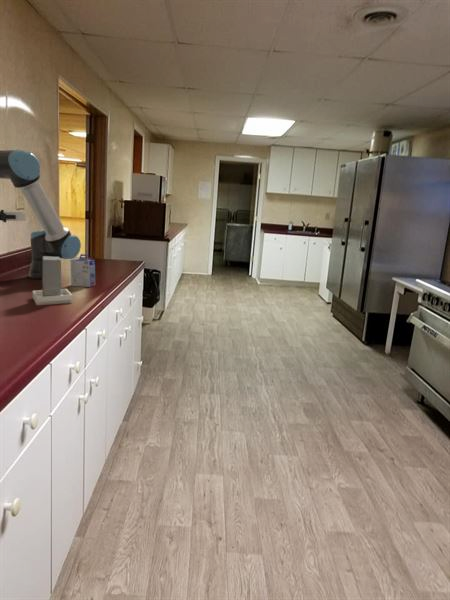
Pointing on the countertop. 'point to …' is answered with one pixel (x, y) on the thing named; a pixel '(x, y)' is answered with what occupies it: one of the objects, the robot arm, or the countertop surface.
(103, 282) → the countertop surface
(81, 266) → the ink cartridge box
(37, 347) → the countertop surface
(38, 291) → the tray
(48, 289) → the skincare box
